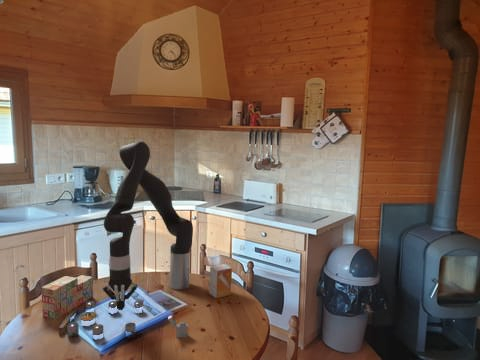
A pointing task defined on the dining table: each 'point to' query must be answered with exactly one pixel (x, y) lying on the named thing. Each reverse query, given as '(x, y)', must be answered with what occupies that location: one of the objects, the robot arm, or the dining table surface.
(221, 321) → the dining table surface
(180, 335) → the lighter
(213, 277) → the small box
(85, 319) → the gold short domed cylinder
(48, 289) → the stack of blocks
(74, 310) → the bar
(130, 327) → the spacers
